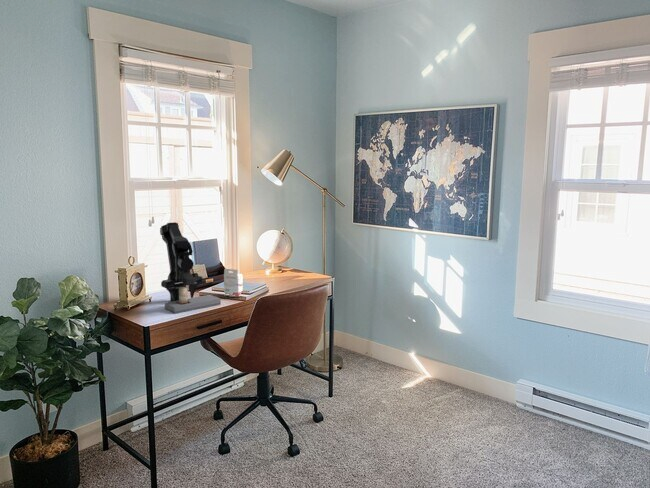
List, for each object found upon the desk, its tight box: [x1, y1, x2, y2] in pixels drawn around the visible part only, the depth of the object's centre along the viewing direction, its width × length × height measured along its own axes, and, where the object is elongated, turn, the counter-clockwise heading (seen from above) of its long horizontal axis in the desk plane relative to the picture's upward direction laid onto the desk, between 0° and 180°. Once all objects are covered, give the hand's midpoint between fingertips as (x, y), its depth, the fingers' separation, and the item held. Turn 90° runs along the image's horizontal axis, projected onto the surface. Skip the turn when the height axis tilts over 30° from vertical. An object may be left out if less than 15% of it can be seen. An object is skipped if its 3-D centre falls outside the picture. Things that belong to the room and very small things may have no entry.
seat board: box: [164, 294, 222, 315], centre depth 251 cm, size 10×24×3 cm, turn 133°
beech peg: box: [179, 286, 189, 305], centre depth 247 cm, size 4×4×9 cm
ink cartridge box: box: [223, 268, 244, 296], centre depth 270 cm, size 9×5×15 cm, turn 68°
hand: (183, 299), depth 247 cm, fingers open, 9 cm apart
